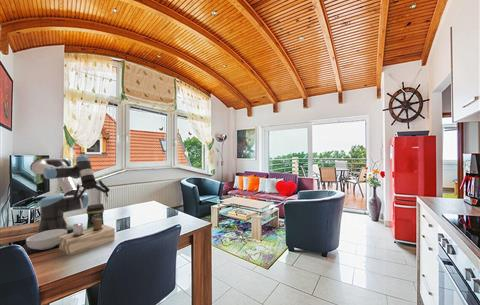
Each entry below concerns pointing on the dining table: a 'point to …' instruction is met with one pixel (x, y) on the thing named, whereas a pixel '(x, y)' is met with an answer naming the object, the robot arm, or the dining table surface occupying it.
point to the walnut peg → (97, 224)
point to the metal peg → (77, 230)
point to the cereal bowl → (45, 239)
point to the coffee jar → (94, 214)
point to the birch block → (86, 240)
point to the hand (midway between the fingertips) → (95, 205)
